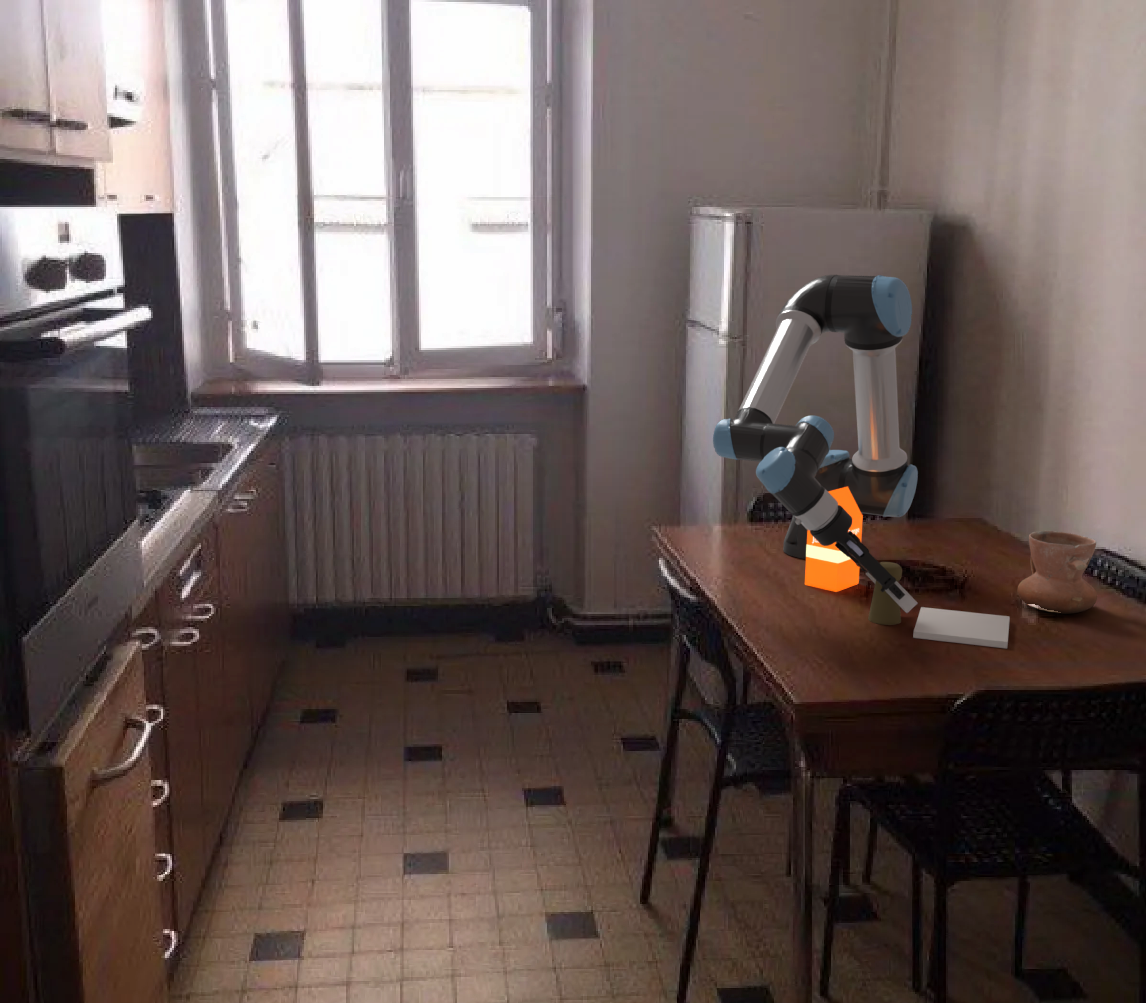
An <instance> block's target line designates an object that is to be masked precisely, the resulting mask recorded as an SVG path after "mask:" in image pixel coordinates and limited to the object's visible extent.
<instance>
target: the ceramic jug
mask: <svg viewBox="0 0 1146 1003" xmlns="http://www.w3.org/2000/svg"><path fill="white" fill-rule="evenodd" d="M1028 541H1029V542H1028V543H1029V544H1028V545H1029V549H1030V550H1029V552H1030V569H1031V575H1029V576H1028V577H1026V578H1024V579H1023V580H1021V581H1020V582H1019V584H1018V585H1017V595H1018V597H1019V599H1020V600H1021V601H1022V602H1023V603H1024V604H1026V605H1027V604H1035V605H1039V606H1040V607H1041V608H1044V609H1047V610H1054V611H1058V612H1061V613H1064V614H1066V615H1067V614H1069V615H1070V614H1077V613H1081V612H1085V611H1087V610H1089V609H1092V607H1094V605H1095V604H1096V603H1097V600H1098V593H1097V591H1096V589H1095V588H1094V587H1093V586H1092V585H1091V584H1090V583H1088V582H1087V581H1086V580H1085V579H1084V578H1083V577H1082V576H1083V574H1084V572H1085V571H1086V569H1087V568H1088V565H1089V564H1090V561H1091V559H1092V557H1093V555H1094V552H1095V550H1096V546H1097V540H1095V539H1094V538H1090V537H1087V536H1084V535H1080V534H1075V533H1070V532H1065V531H1054V530H1041V531H1032V532H1031V533H1030V534H1029V535H1028Z"/></svg>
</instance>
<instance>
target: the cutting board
mask: <svg viewBox="0 0 1146 1003" xmlns="http://www.w3.org/2000/svg"><path fill="white" fill-rule="evenodd" d="M1010 617H1011V616H1007V615H1000V614H988V613H982V612H981V613H980V612H971V611H961V610H953V609H952V610H951V609H943V608H932V607H924V606H921V607H920V610H919V613H918V617H917V619H916V622H915V627H914V629H913V634H912V635H913V637H912V638H913V639H922V640H930V641H938V642H948V643H957V644H964V645H971V646H974V645H975V646H982V647H991V648H1000V649H1008V645H1009V644H1008V643H1009V631H1010V630H1009V629H1010Z"/></svg>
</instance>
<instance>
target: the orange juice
mask: <svg viewBox="0 0 1146 1003" xmlns="http://www.w3.org/2000/svg"><path fill="white" fill-rule="evenodd" d="M829 493H830V494H831V495H832V496H833V498H834V499H835V500H836V501H837V502H838V505H840V506H842V508H843V509H844V510H845V511H846V512H847V513H848V514H849V515H850V516H851V517H852V525H851V527H850V528H849V530H848V532H849V531H851V532H852V533H853V534H855V535H856V536H857V537H858V538H859V539H860V542H861V543H862V534H863V518H864V517H863V516H864V515H863V513H861V512H860V510H859V508H858V506H857V504H856V502H855V500H854V498H853V496H852V494H851V492H850V490H849V488H848V487H844V488H840V489H836V490H833V491H829ZM835 544H836V542H835V543H833V544H832V545H829V546H823V545H821V544H820V543H819V542H818V541H817V540H816V539H815V538H814V537H813V536H812V535H811V534H810V530H808V531H807V545H806V559H805V571H804V572H805V573H804V585H805V586H809V587H813V588H816V589H821V590H825V591H829V592H830V591H831V592H835V593H837V592H840V591H842V590H845V589H848V588H850V587H853V586H856V585H858V584H859V581H860V569H861V568H860V567H858V566H857V565H856V563H854V562H853V561H852V560H851V559H850V558H849V557H847V556H846V555H845V554H844V553H843V552H842V551H840V550H839V549H838V548H837V547H836V546H835Z"/></svg>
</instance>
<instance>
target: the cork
mask: <svg viewBox="0 0 1146 1003" xmlns="http://www.w3.org/2000/svg"><path fill="white" fill-rule="evenodd" d="M879 563H880V564H881V565H882V566H883V567H884V568H885V569H886V570H887V571H888V572H889V573H890V574H891V575H892V576H893V577H895V578H896V581H897V582H898V583H899V581H900V580H901V579H902V576H903V568H902V566H901V565H899V564H898V563H895V562H891V561H880V562H879ZM881 589H882V586H881V585H880V584H879V583H878V582H877V581H876V583H874V587H873V593H872V599H871V603H870V609H869V612H868V619H867V620H868V621H870V622H872V623H874V624H877V625H885V626H891V625H892V626H893V625H899V624H901V623H902V613H901V607H900V606H899V605H898V604H897V603H896V602H895V601H894V600H893V599H892V598H891V596H890V595H889V594H888V593H887V592H886V591H884V592H881V591H880V590H881Z"/></svg>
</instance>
